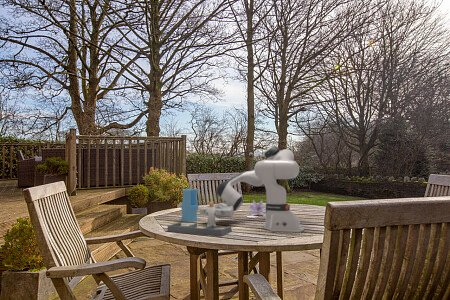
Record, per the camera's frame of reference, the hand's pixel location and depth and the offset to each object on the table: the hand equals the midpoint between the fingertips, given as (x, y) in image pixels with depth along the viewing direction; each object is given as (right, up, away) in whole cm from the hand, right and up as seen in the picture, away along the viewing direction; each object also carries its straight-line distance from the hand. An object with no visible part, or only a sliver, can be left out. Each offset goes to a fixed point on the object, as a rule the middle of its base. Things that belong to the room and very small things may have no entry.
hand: (210, 213), depth 207 cm
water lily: (+31, -10, +47) cm, 58 cm away
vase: (-15, -9, +22) cm, 28 cm away
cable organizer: (-5, -7, -13) cm, 16 cm away
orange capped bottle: (0, -8, +1) cm, 8 cm away
